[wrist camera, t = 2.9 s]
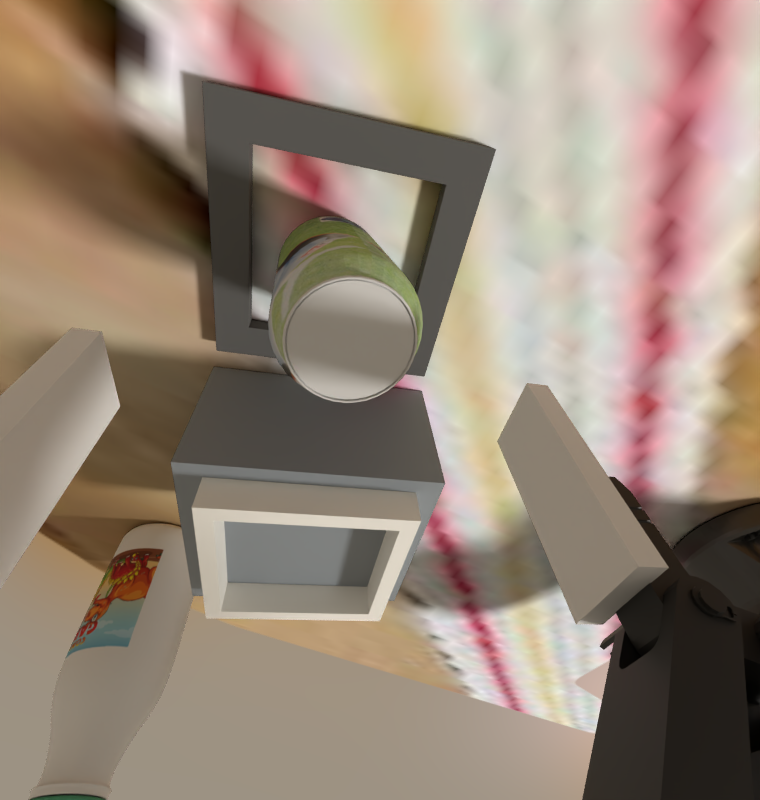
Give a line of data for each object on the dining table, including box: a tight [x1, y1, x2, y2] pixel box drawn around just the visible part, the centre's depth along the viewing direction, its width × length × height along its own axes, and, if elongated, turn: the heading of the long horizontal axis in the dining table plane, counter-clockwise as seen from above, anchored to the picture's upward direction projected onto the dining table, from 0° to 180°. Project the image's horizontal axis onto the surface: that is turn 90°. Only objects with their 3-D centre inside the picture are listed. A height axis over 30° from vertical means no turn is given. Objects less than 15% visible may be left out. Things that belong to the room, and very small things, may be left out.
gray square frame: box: [202, 81, 496, 376], centre depth 24 cm, size 14×14×1 cm
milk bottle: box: [28, 523, 194, 800], centre depth 33 cm, size 8×8×20 cm
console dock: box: [171, 367, 445, 621], centre depth 29 cm, size 15×14×11 cm
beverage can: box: [268, 216, 423, 403], centre depth 20 cm, size 6×7×12 cm
